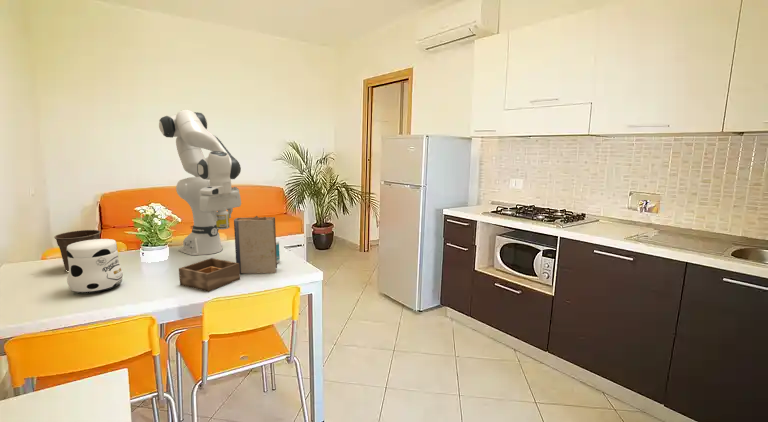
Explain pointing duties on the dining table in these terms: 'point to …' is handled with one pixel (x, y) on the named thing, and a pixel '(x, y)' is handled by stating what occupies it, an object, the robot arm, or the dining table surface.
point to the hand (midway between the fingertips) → (222, 219)
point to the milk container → (93, 266)
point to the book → (255, 244)
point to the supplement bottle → (223, 219)
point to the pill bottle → (277, 251)
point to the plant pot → (74, 241)
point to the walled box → (209, 274)
